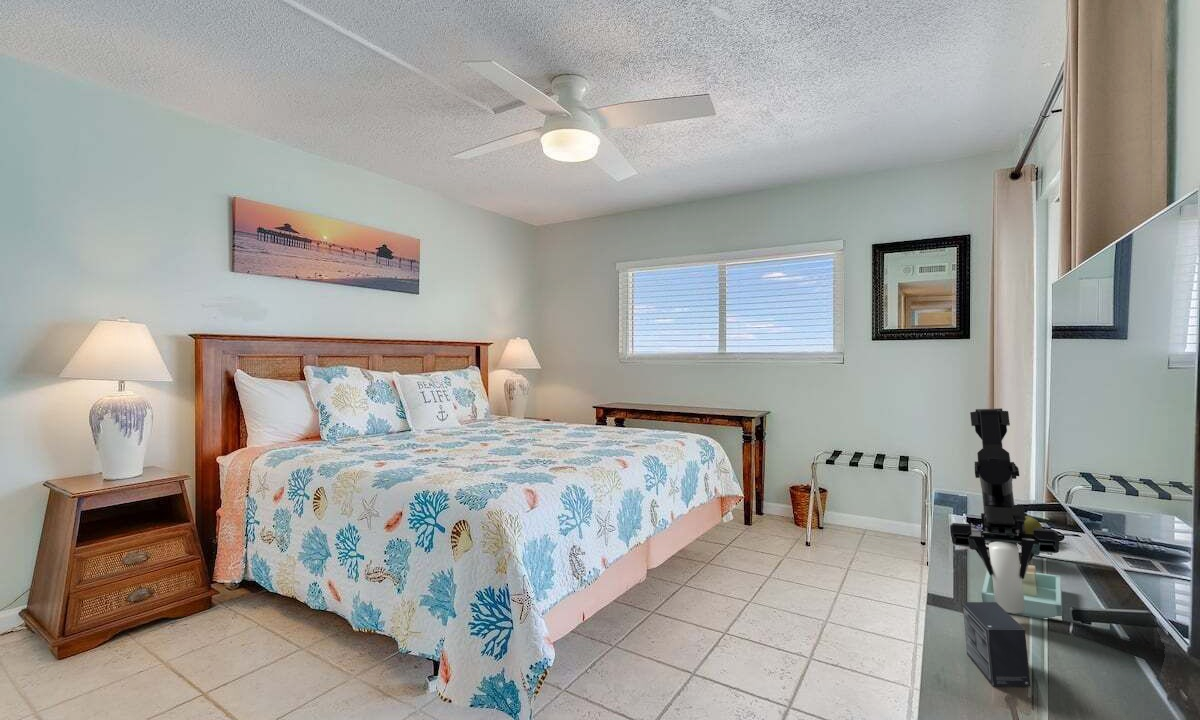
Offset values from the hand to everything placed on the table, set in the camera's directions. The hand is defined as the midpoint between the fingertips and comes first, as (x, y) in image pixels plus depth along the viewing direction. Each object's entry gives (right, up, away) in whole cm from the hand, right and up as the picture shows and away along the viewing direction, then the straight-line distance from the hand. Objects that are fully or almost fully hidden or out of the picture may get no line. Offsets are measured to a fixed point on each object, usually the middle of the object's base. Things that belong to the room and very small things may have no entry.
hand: (1006, 576), depth 114 cm
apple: (+34, -6, +38) cm, 51 cm away
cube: (+14, -8, +13) cm, 20 cm away
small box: (-11, -13, -13) cm, 21 cm away
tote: (+11, -9, +10) cm, 17 cm away
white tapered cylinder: (+2, -7, +1) cm, 7 cm away
